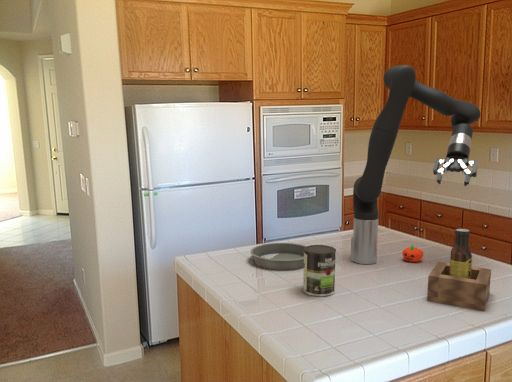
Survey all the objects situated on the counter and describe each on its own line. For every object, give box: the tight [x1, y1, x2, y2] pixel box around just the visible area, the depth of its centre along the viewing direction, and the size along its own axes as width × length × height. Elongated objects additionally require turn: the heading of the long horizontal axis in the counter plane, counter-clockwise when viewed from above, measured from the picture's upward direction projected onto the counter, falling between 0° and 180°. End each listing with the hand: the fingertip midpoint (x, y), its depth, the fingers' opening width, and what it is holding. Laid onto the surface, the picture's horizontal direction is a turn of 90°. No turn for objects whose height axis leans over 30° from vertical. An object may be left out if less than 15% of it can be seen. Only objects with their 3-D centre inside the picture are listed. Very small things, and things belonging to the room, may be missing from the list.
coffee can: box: [302, 244, 337, 297], centre depth 152 cm, size 10×10×14 cm
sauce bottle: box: [449, 228, 473, 279], centre depth 146 cm, size 7×6×20 cm
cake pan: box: [250, 242, 307, 271], centre depth 184 cm, size 25×25×4 cm
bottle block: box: [426, 261, 492, 312], centre depth 147 cm, size 16×16×8 cm
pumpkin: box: [401, 244, 424, 263], centre depth 184 cm, size 7×8×6 cm
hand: (452, 183), depth 164 cm, fingers open, 8 cm apart
